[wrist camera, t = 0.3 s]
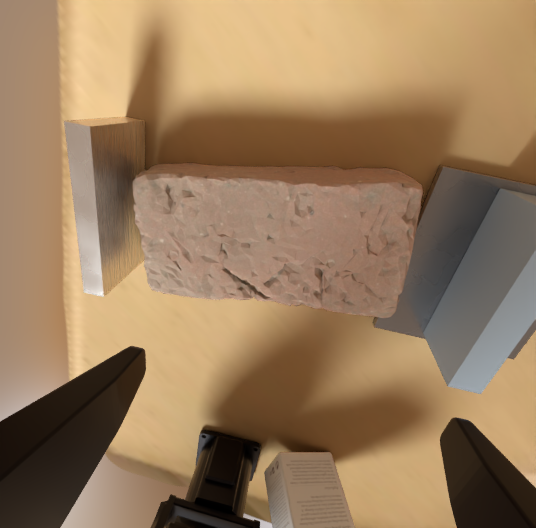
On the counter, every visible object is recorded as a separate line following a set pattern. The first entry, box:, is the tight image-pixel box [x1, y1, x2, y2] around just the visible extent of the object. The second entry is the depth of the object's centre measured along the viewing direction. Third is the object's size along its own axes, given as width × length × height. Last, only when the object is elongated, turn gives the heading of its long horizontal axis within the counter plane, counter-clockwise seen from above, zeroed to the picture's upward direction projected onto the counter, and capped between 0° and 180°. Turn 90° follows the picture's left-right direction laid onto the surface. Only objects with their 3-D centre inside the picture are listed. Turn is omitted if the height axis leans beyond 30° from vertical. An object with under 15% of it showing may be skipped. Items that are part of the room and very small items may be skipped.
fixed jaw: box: [64, 117, 145, 297], centre depth 20 cm, size 10×1×6 cm, turn 170°
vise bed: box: [373, 165, 536, 359], centre depth 21 cm, size 12×10×1 cm
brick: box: [133, 163, 423, 318], centre depth 20 cm, size 17×8×5 cm, turn 90°
